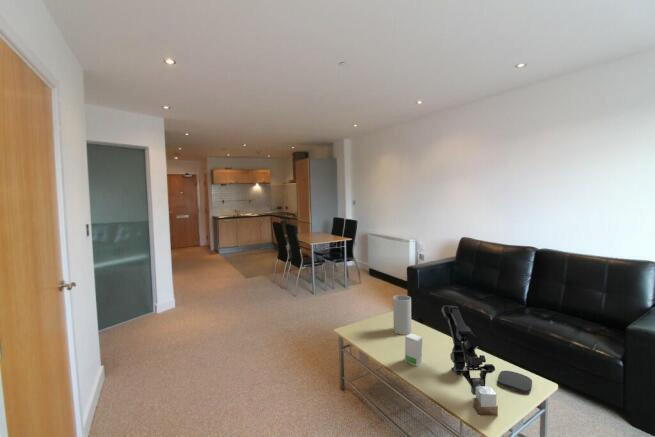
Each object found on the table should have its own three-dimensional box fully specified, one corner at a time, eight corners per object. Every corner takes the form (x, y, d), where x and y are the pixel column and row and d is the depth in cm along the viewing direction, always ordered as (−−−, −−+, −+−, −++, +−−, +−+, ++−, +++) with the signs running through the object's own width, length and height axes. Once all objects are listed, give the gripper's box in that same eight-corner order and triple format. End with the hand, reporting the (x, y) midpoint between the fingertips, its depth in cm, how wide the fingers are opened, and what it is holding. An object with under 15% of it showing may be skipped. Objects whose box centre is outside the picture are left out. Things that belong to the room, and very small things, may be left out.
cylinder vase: (390, 331, 230) (389, 297, 228) (400, 326, 239) (399, 293, 237) (404, 336, 221) (404, 301, 219) (414, 331, 229) (414, 297, 227)
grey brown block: (473, 407, 147) (473, 385, 146) (491, 407, 147) (492, 386, 146) (478, 416, 141) (478, 394, 140) (498, 416, 141) (498, 394, 140)
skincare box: (404, 361, 189) (404, 336, 187) (410, 357, 193) (409, 332, 192) (417, 366, 183) (417, 340, 182) (422, 361, 188) (422, 336, 187)
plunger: (471, 391, 154) (471, 377, 153) (481, 391, 154) (481, 377, 153) (477, 402, 146) (478, 387, 146) (489, 402, 146) (489, 387, 145)
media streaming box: (501, 373, 175) (501, 367, 174) (533, 382, 166) (533, 376, 165) (496, 385, 163) (496, 380, 163) (529, 396, 154) (529, 390, 154)
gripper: (454, 348, 156) (463, 383, 145) (493, 348, 154) (504, 383, 144) (449, 355, 164) (457, 389, 154) (486, 355, 163) (496, 389, 153)
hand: (478, 387), depth 151 cm, fingers closed on plunger, 5 cm apart
